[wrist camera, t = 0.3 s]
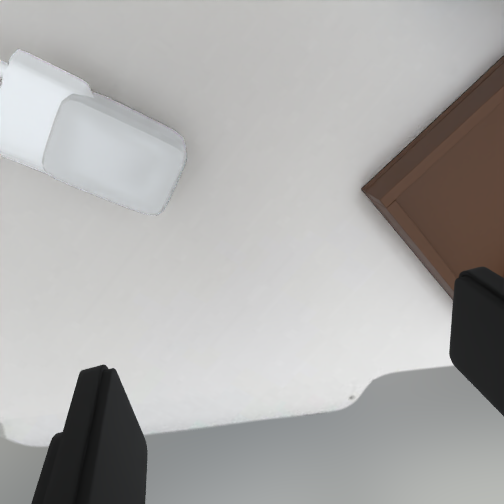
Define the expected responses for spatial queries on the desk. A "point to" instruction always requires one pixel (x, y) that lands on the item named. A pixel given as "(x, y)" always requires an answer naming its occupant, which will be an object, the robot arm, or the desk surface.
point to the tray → (452, 185)
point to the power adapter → (86, 136)
